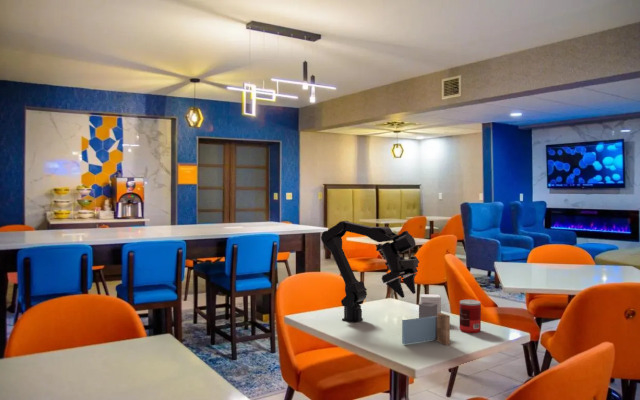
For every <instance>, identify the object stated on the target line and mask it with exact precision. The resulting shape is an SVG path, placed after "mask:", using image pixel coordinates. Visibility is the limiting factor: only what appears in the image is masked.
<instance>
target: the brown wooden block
mask: <svg viewBox="0 0 640 400" xmlns="http://www.w3.org/2000/svg"><path fill="white" fill-rule="evenodd" d="M450 316H451V315H449V314H446V313H443V312H441V313H437V341H436V342H437V343H440V344H443V345H444V346H450V344H451V343H450V337H451V336H450V335H451V332H450V327H451V323H450V322H451V320H450V319H451V317H450Z"/></svg>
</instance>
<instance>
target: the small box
mask: <svg viewBox="0 0 640 400" xmlns="http://www.w3.org/2000/svg"><path fill="white" fill-rule="evenodd" d="M424 302H427V303H434V304H437V313H442V297H441V296H440V294H436V293H435V294H425V293H422V294H421V293H420V294H419V304H421V303H424Z"/></svg>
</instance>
